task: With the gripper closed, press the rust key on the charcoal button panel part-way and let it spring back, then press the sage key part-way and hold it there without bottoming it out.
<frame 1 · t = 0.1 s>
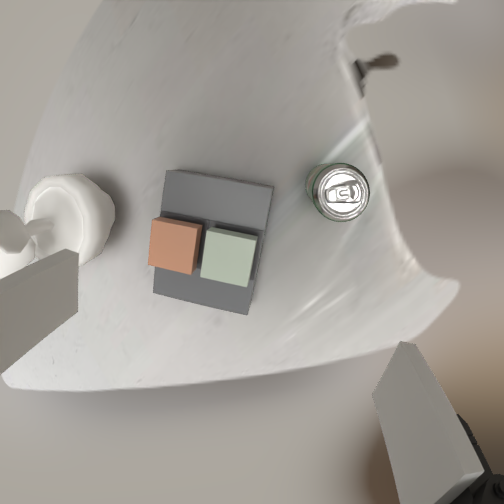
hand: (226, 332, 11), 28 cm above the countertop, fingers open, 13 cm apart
rust key: (174, 245, 33), point 6 cm above the countertop, slide at 0.0 cm
sage key: (228, 256, 33), point 6 cm above the countertop, slide at 0.0 cm
white floating cup sculpture: (96, 213, 41), on the countertop
button panel: (214, 237, 40), on the countertop
soda can: (326, 185, 37), on the countertop
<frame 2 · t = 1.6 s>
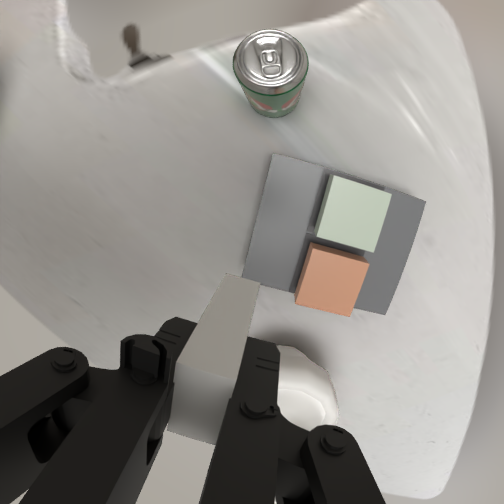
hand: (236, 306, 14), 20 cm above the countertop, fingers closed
rust key: (330, 280, 27), point 6 cm above the countertop, slide at 0.0 cm
sage key: (352, 212, 25), point 6 cm above the countertop, slide at 0.0 cm
white floating cup sculpture: (283, 367, 37), on the countertop
button panel: (330, 230, 32), on the countertop
soda can: (273, 94, 29), on the countertop
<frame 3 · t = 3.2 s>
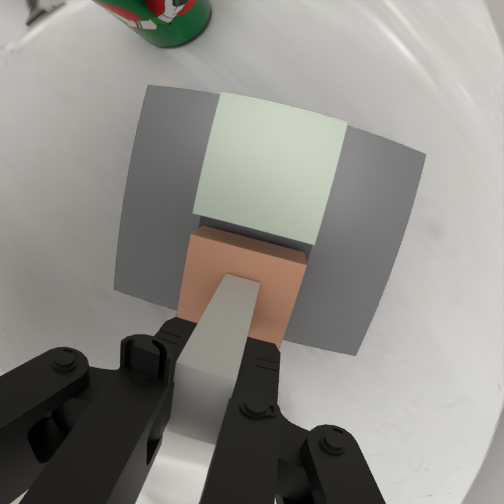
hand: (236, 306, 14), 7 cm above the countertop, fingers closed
rust key: (238, 294, 15), point 6 cm above the countertop, slide at 0.4 cm, touching gripper
sage key: (270, 166, 13), point 7 cm above the countertop, slide at 0.0 cm
white floating cup sculpture: (213, 412, 25), on the countertop
button panel: (263, 212, 20), on the countertop
soda can: (177, 19, 17), on the countertop
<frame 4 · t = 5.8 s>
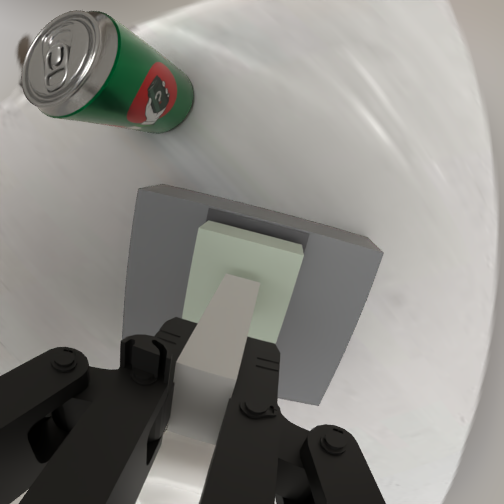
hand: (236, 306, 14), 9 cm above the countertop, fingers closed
sage key: (241, 283, 16), point 6 cm above the countertop, slide at 0.0 cm
white floating cup sculpture: (207, 436, 28), on the countertop
button panel: (244, 288, 23), on the countertop
soda can: (162, 100, 20), on the countertop
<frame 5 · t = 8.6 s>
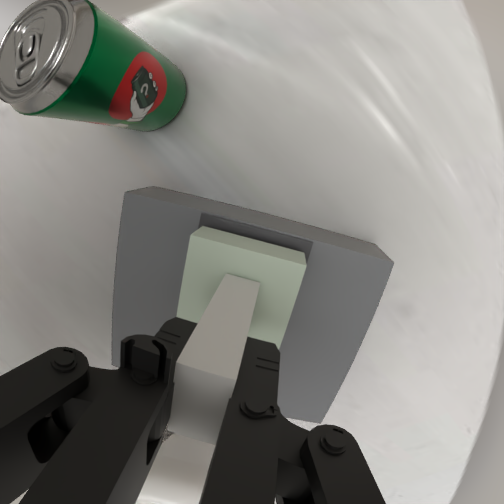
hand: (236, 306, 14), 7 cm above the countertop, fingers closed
sage key: (238, 294, 15), point 6 cm above the countertop, slide at 0.4 cm, touching gripper
white floating cup sculpture: (204, 449, 27), on the countertop
button panel: (241, 298, 21), on the countertop
soda can: (153, 96, 19), on the countertop
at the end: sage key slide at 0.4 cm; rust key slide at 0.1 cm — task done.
